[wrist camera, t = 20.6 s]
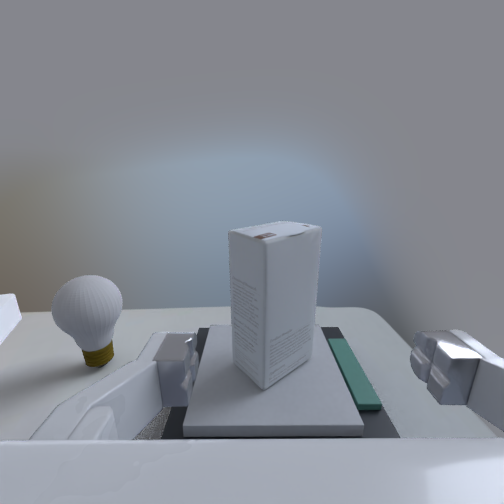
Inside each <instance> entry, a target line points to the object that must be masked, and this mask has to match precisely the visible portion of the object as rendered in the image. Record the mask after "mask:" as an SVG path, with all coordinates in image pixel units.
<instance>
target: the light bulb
mask: <svg viewBox="0 0 504 504" xmlns="http://www.w3.org/2000/svg"><path fill="white" fill-rule="evenodd" d="M121 310H122V296H121V293H120V291H119V289H118V288H117V286H116V285H115V284H114V283H112V282H111V281H110V280H108V279H106V278H104V277H100V276H95V275H86V276H81V277H77V278H75V279H73V280H70V281H69V282H67V283H66V284H65V285H63V286H62V287H61V288H60V289H59V291H58V292H57V293H56V295H55V297H54V299H53V302H52V316H53V319H54V321H55V323H56V325H57V326H58V327H59V328H60V329H61V330H62V331H64V332H65V333H67V334H69V335H70V336H72V337H73V338H74V340H75V342H76V344H77V345H78V346H79V347H80V348H81V349H82V352H83V356H84V359H85V362H86V365H87V366H90V367H101V366H104V365H105V364H107V363H108V362H109V361H110V360H111V359H112V358H113V356H114V351H113V344H112V338H113V334H114V326H115V323H116V321H117V319H118V318H119V316H120V313H121Z"/></svg>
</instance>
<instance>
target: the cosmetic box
mask: <svg viewBox="0 0 504 504" xmlns="http://www.w3.org/2000/svg"><path fill="white" fill-rule="evenodd" d="M321 236H322V228H321V227H319V226H314V225H309V224H302V223H296V222H289V221H288V222H287V221H281V222H274V223H269V224H263V225H257V226H252V227H246V228H241V229H234V230H230V231H229V233H228V237H229V238H228V239H229V265H230V295H231V324H232V350H233V362H234V364H235V365H236V366H237V367H238V368H239V369H240V370H241V371H242V372H243V373H244V374H245V375H246V376H248V377H249V378H250V379H251V380H252V381H253V382H254V383H255V384H256V385H258V386H259V387H260V388H261V389H263V390H265V389H267V388H268V387H270V386H271V385H273V384H274V383H275V382H277V381H278V380H280V379H281V378H282V377H284V376H285V375H287V374H288V373H289V372H291V371H292V370H294V369H295V368H297V367H298V366H300V365H301V364H302V363H304V362H305V361H307V360H308V359H309V358H311V357H312V349H313V337H314V324H315V311H316V298H317V285H318V273H319V260H320V248H321Z"/></svg>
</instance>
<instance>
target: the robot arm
mask: <svg viewBox="0 0 504 504" xmlns="http://www.w3.org/2000/svg"><path fill="white" fill-rule="evenodd" d="M413 341H414V343H415V345H416V347H415V348H414V349H413V350H412V351H411V356H410V362H411V367H412V369H413V371H414V373H415V374H416V376H417V377H418V378H419V379H420V380H422V381H424V382H425V383H427V389H428V391H429V392H430V393H431V394H432V395H433V397H434V398H435V399H436V400H437V402H438V403H439V404H440V405H467V407H468V408H469V409H471V410H472V411H474V412H475V413H477V414H478V415H480V416H481V417H483V418H484V419H486V420H487V421H488V422H490V423H491V424H493V425H494V426H496V427H497V428H499V429H500V430H502V431H503V432H504V358H500V357H498V356H497V355H496V354H494V353H493V352H492V351H490V350H489V349H487V348H486V347H485V346H484V345H482V344H481V343H479V342H478V341H477V340H475V339H474V338H473V337H471V336H470V335H469V334H467V333H466V332H465V331H462V330H445V331H417V332H416V333H415V335H414V339H413ZM196 345H197V335H196V333H194V332H169V333H168V332H155V333H153V334H152V336H151V337H150V339H149V341H148V342H147V344H146V345H145V347H144V349H143V350H142V352H141V353H140V355H139V356H138V358H137V360H136V361H131V362H129V363H127V364H126V365H124V366H122V367H121V368H119V369H117V370H116V371H114V372H112V373H111V374H109V375H107V376H106V377H104V378H102V379H101V380H99V381H97V382H96V383H94V384H92V385H91V386H89V387H87V388H86V389H84V390H82V391H81V392H79V393H77V394H76V395H74V396H72V397H71V398H69V399H67V400H66V401H64V402H62V403H61V404H59V405H58V406H57V407H56V408H55V409H54V410H53V412H52V413H51V414H50V415H49V416H48V417H47V419H46V420H45V421H44V422H43V423H42V425H41V426H40V427H39V428H38V429H37V430H36V432H35V433H34V434H33V435H32V436H31V438H30V439H29V440H0V504H504V438H342V439H181V440H133V439H134V438H135V437H136V436H137V435H138V434H139V433H140V432H141V431H142V430H143V429H144V428H145V427H146V426H147V425H148V424H149V423H150V422H151V421H152V419H153V418H154V417H155V416H156V415H157V414H158V413H159V412H160V411H161V410H162V409H163V407H183V406H189V403H190V399H191V396H192V392H193V384H192V383H193V382H194V381H195V380H196V377H197V373H198V365H199V358H198V352H197V351H196V350H195V348H196Z"/></svg>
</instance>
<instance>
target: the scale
mask: <svg viewBox="0 0 504 504" xmlns="http://www.w3.org/2000/svg"><path fill="white" fill-rule="evenodd" d="M195 350H196V351H197V352H198V358H199V365H198V373H197V377H196V380H195V381H194V382H193V383H192V384H193V392H192V396H191V399H190V403H189V406H183V407H172V409H171V411H170V414H169V417H168V420H167V423H166V426H165V429H164V432H163V435H162V438H161V440H181V439H342V438H400V436H399V434H398V433H397V431H396V429H395V427H394V425H393V424H392V422H391V420H390V418H389V417H388V415H387V413H386V411H385V409H384V408H383V406H382V403H381V401H380V399H379V398H378V396H377V394H376V392H375V391H374V389H373V387H372V385H371V384H370V382H369V380H368V378H367V376H366V375H365V373H364V371H363V369H362V368H361V366H360V364H359V362H358V361H357V359H356V357H355V355H354V353H353V352H352V350H351V348H350V346H349V345H348V343H347V341H346V339H345V338H344V337H343V335H342V333H341V331H340V329H339V328H338V327H320V325H319V324H314V337H313V349H312V357H311V358H309V359H308V360H307V361H305V362H304V363H302V364H301V365H300V366H298V367H297V368H295V369H294V370H292V371H291V372H289V373H288V374H287V375H285V376H284V377H282V378H281V379H280V380H278V381H277V382H275V383H274V384H273V385H271V386H270V387H268V388H267V389H265V390H263V389H261V388H260V387H259V386H258V385H256V384H255V383H254V382H253V381H252V380H251V379H250V378H249V377H248V376H246V375H245V374H244V373H243V372H242V371H241V370H240V369H239V368H238V367H237V366H236V365H235V364H234V362H233V350H232V325H210V328H199V330H198V333H197V345H196V348H195Z"/></svg>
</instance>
